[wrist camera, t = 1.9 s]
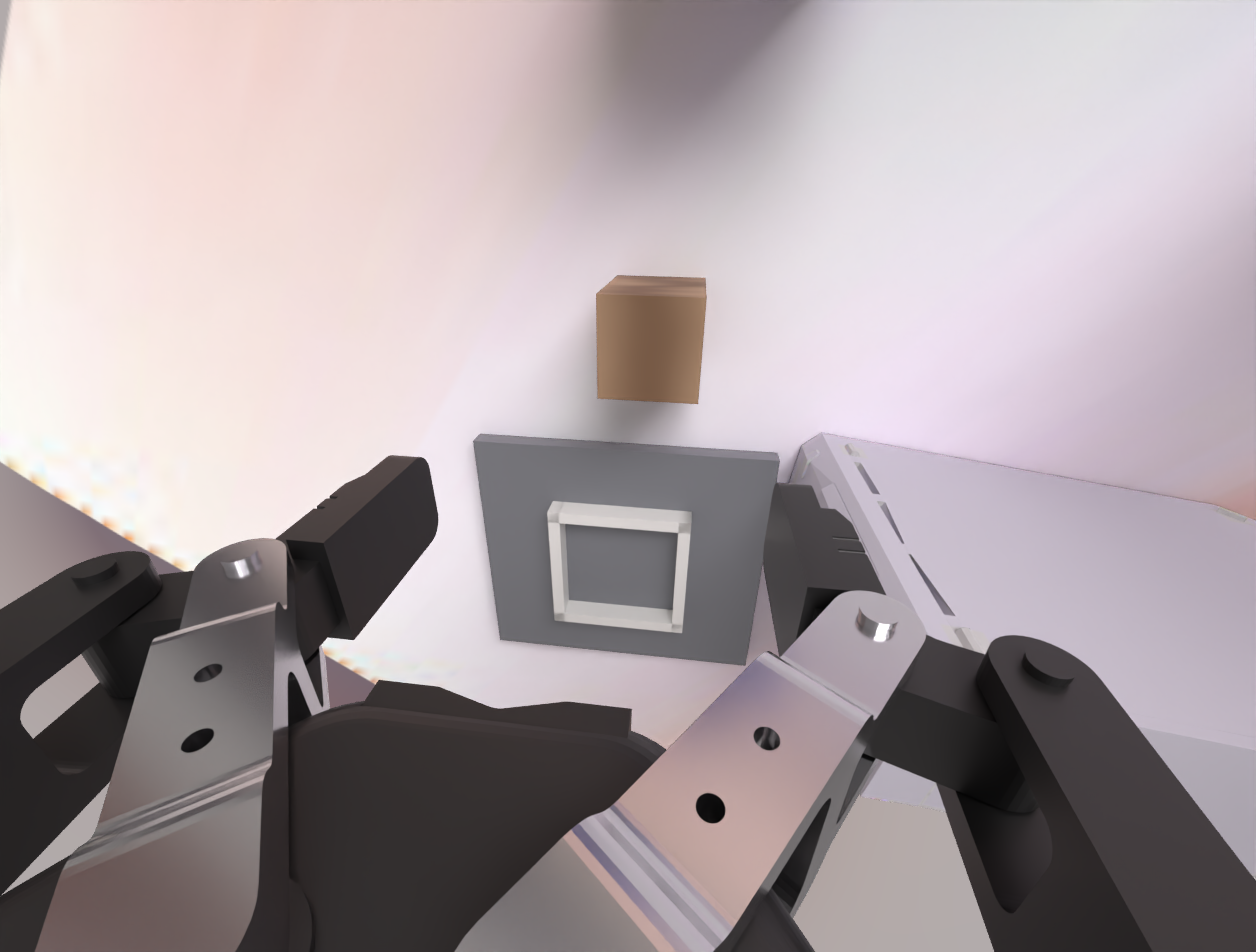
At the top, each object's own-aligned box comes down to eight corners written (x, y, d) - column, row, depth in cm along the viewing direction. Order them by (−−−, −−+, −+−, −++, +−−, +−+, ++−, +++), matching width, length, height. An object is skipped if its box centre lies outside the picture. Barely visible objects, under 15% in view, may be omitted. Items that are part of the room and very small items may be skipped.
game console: (805, 424, 33) (928, 681, 15) (1252, 506, 31) (1941, 885, 14) (779, 502, 35) (857, 796, 18) (1188, 580, 34) (1697, 973, 17)
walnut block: (705, 277, 29) (706, 297, 23) (698, 364, 32) (697, 404, 26) (617, 275, 30) (596, 293, 24) (617, 361, 32) (597, 398, 26)
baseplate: (777, 452, 34) (783, 471, 31) (744, 654, 42) (746, 681, 40) (479, 433, 36) (464, 450, 33) (505, 629, 44) (494, 653, 42)
